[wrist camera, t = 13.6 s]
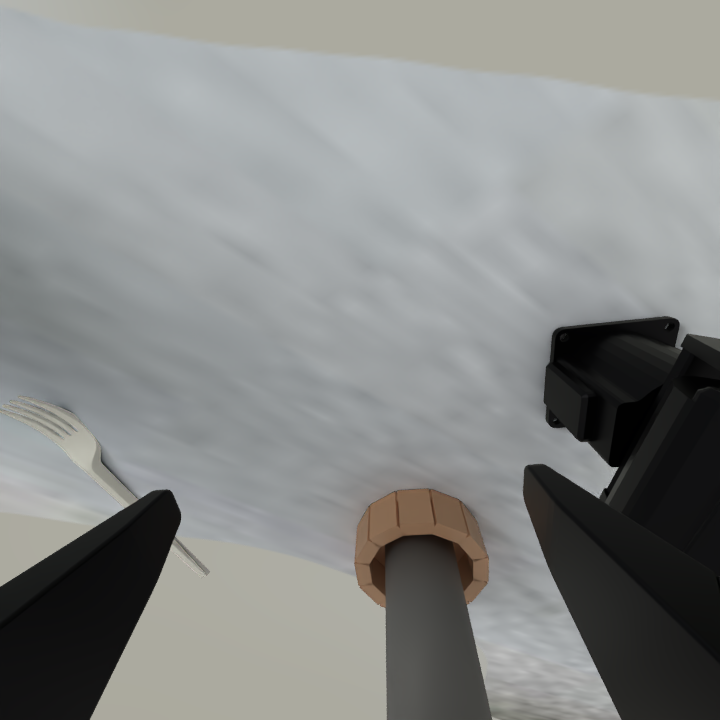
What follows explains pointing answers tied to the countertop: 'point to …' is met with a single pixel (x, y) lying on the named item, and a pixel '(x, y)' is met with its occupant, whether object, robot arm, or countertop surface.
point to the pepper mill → (429, 635)
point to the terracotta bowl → (419, 517)
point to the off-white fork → (86, 457)
